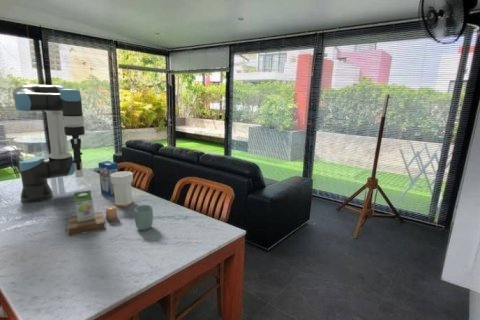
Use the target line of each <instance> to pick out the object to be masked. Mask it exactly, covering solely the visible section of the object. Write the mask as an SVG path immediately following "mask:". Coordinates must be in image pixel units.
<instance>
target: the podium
mask: <svg viewBox="0 0 480 320" xmlns="http://www.w3.org/2000/svg"><path fill="white" fill-rule="evenodd" d="M94 216H95V219H94V220H89V221H84V222H79V223H78V221H77V215H74V216H73V215H72V216H68V227H67V231H68V236H74V235H79V234H80V235H81V234H84V233H90V232H95V231H99V230H105V229H106V228H105V220H104V214H103V211H102V210H101V211H94Z"/></svg>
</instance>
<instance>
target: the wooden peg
mask: <svg viewBox="0 0 480 320" xmlns="http://www.w3.org/2000/svg"><path fill="white" fill-rule="evenodd" d="M117 207H118V206H116V205H110V206H106V207H105V218H106V222H116V221H117V220H118V219H119V217H118V208H117Z"/></svg>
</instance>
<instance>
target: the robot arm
mask: <svg viewBox="0 0 480 320" xmlns="http://www.w3.org/2000/svg"><path fill="white" fill-rule="evenodd" d="M12 98H13V101H14V106H15V109H16V110H17V111H18V112H40V111H44V112H45V114H46V120H47V129H48V137H49V144H50V145H49V146H50V154H48V158H45V157H43V156H36V157H29V158H26V159H24V160H22V161H20V162H19V172H20V176H21V183H22V189H21V191H20V192H21V193H20V201H21V202H23V203H34V202H41V201H44V200H48V199H50V198H52V197H53V196H54V195H53V194H54V193H53V190H52V188H51V187H50V184H49V183H48V179H54V178H55V179H56V178H62V177H64V178H65V177H68V176H72V175H75V178H83V177H84V173H83V171H84V170H83V168H84V167H83V161H82V155H83V152H82V151H81V148H82V145H81V144H82V139H81V138H79V137H80V136H84V135H85V133H86V131H85V126H84V125H85V123H84V122H85V120H84V114H83V113H84V112H83V105H82V95H81V91H80V90H79V89H74V88H73V89H70V88H69V89H67V88H66V87H65V86H63V85H58V84H57V85H55V84H25V85H21V86H18V87H16V88H15V89H13V91H12ZM68 136H69V137H72V138H70V144H71V149H72V152H73V155H72V153H71V152H70V151H69V145H68Z"/></svg>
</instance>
